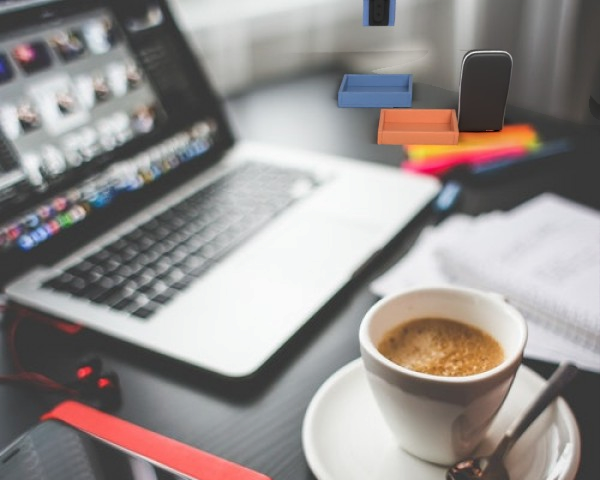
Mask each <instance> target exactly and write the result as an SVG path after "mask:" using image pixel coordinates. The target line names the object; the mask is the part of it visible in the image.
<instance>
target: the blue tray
mask: <svg viewBox="0 0 600 480" xmlns="http://www.w3.org/2000/svg"><path fill="white" fill-rule="evenodd" d="M337 96H338V97H337V102H338V103H337V104H338V105H337V106H338V108H364V109H365V108H366V109H367V108H369V109H371V108H377V109H378V108H381V109H394V108H393V107H411V108H412V104H413V103H412V102H413V73H348V74H347V73H344V75H343V78H342V80H341V83H340V87H339V89H338V92H337Z"/></svg>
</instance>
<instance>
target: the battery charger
mask: <svg viewBox="0 0 600 480" xmlns="http://www.w3.org/2000/svg"><path fill="white" fill-rule="evenodd" d="M512 73H513V57H512V55H511V54H510V53H509V52H508V51H506V50H505V49H502V48H476V49H475V48H474V49H470V50H468V51H466V52H465V54H464V55H463V57H462V60H461V65H460V73H459V85H458V86H459V94H458V96H459V97H458V112H457V123H458V130H459V132H467V131H486V130H501V131H503V129H504V119H505V115H506V114H505V113H506V107H507V102H508V98H509V91H510V86H511V82H512V81H511V80H512Z"/></svg>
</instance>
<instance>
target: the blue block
mask: <svg viewBox="0 0 600 480" xmlns="http://www.w3.org/2000/svg"><path fill="white" fill-rule="evenodd" d="M396 7H397V0H390V7H389V24H388V25H387V26H386V27H394V26H395V22H396ZM362 27H371V26H370V25H369V0H363V1H362Z"/></svg>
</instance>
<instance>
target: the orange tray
mask: <svg viewBox="0 0 600 480" xmlns="http://www.w3.org/2000/svg"><path fill="white" fill-rule="evenodd" d="M457 120H458V116H457V111H456V109H455V108H453V109H452V108H437V109H435V108H381V109H380V115H379V121H378V122H379V123H378V128H377V145H397V146H398V145H399V146H402V145H404V146H458V145H459V137H460V131H459V130H458V123H457Z"/></svg>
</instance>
